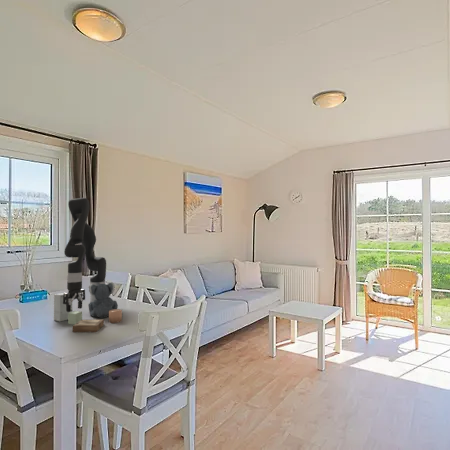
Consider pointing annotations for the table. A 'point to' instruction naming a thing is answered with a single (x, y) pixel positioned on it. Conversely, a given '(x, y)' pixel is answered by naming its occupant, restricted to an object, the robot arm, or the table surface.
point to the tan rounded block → (115, 315)
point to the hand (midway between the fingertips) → (74, 310)
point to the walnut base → (88, 325)
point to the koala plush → (102, 300)
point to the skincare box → (60, 308)
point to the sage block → (74, 317)
